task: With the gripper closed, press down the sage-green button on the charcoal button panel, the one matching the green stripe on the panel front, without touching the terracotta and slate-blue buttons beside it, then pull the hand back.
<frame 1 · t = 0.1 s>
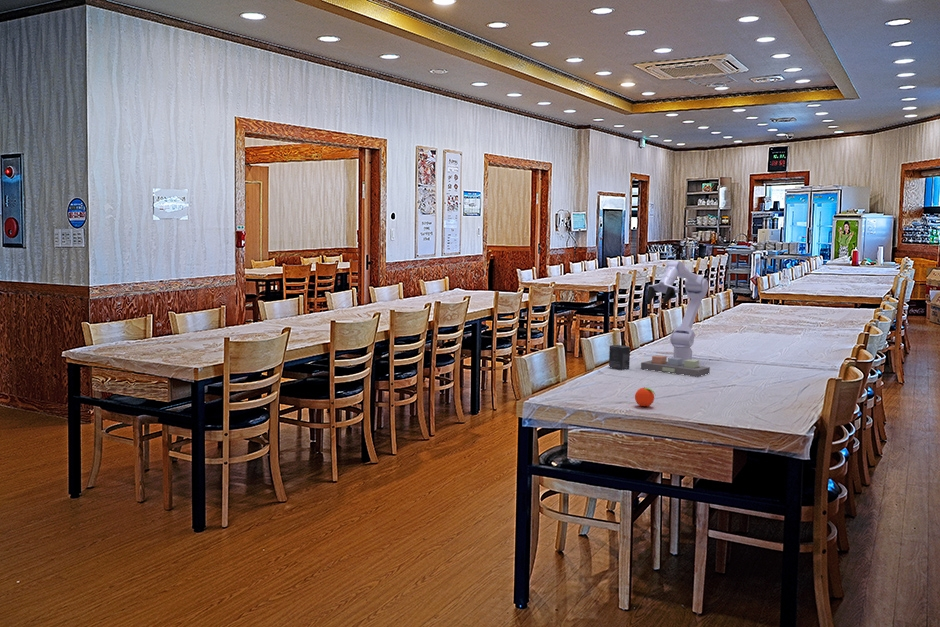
hand: (656, 301, 371), 32 cm above the table, tool tilted 50°, fingers open, 7 cm apart
sage button: (691, 365, 372), point 4 cm above the table, slide at 0.0 cm
box: (618, 368, 383), on the table
button panel: (674, 371, 378), on the table
clementine: (645, 407, 301), on the table
slate button: (675, 362, 377), point 4 cm above the table, slide at 0.0 cm
terracotta button: (659, 360, 382), point 4 cm above the table, slide at 0.0 cm
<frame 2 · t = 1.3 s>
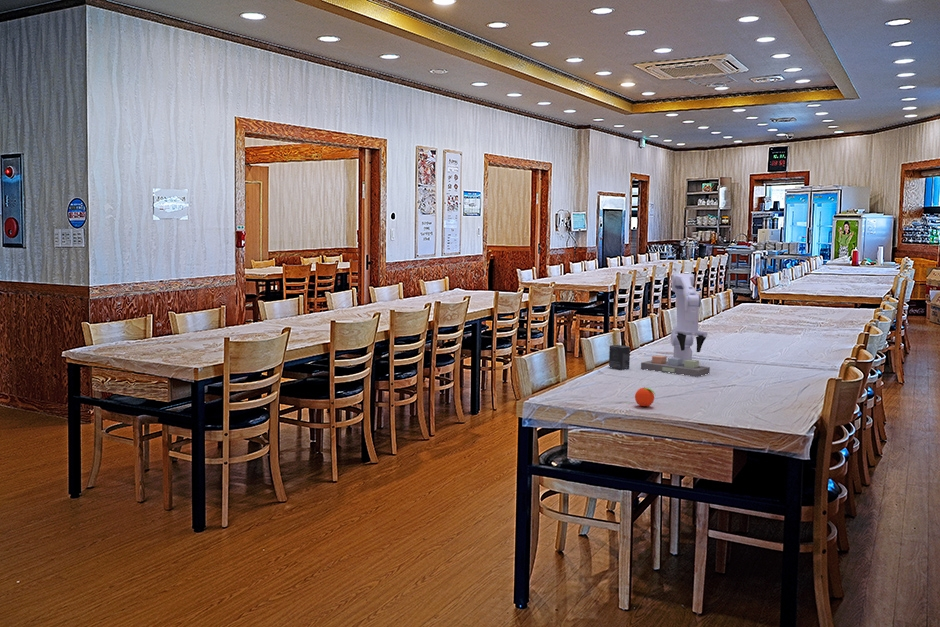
hand: (690, 351, 375), 10 cm above the table, tool pointing down, fingers open, 7 cm apart
nothing on the table moved.
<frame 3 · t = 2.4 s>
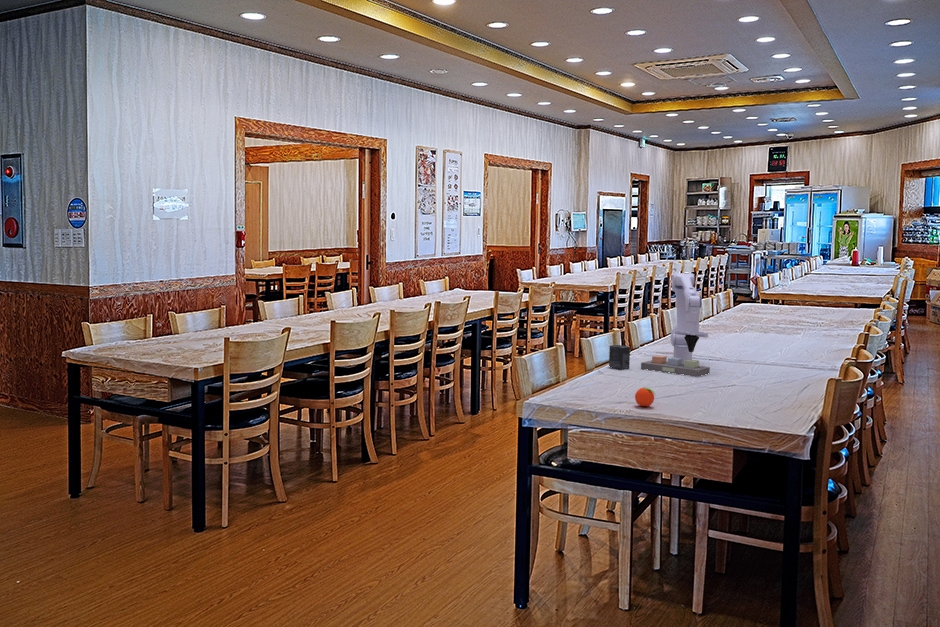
hand: (691, 351, 375), 9 cm above the table, tool pointing down, fingers closed
nothing on the table moved.
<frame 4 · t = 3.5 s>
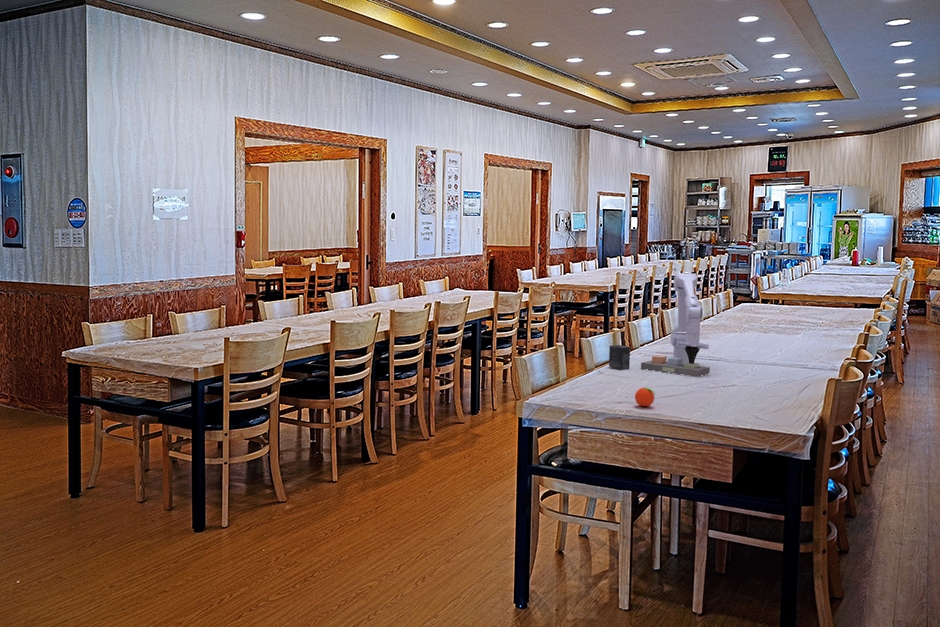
hand: (691, 363, 372), 5 cm above the table, tool pointing down, fingers closed, pressing on sage button
sage button: (691, 367, 372), point 3 cm above the table, slide at 1.3 cm, touching gripper
everything else where it was.
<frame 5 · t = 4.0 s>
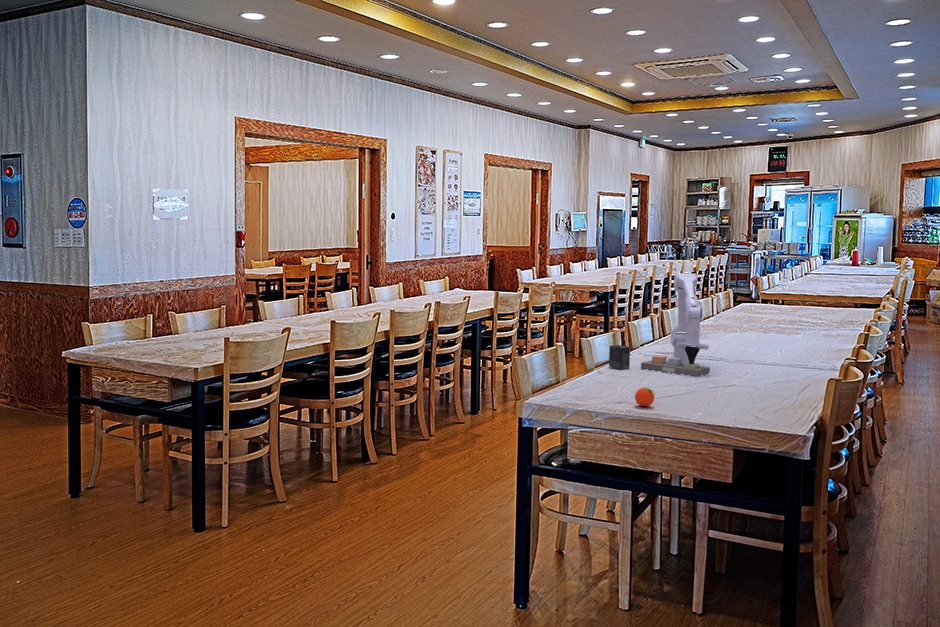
hand: (691, 363, 372), 5 cm above the table, tool pointing down, fingers closed, pressing on sage button
sage button: (691, 368, 372), point 2 cm above the table, slide at 1.4 cm, touching gripper
everything else where it was.
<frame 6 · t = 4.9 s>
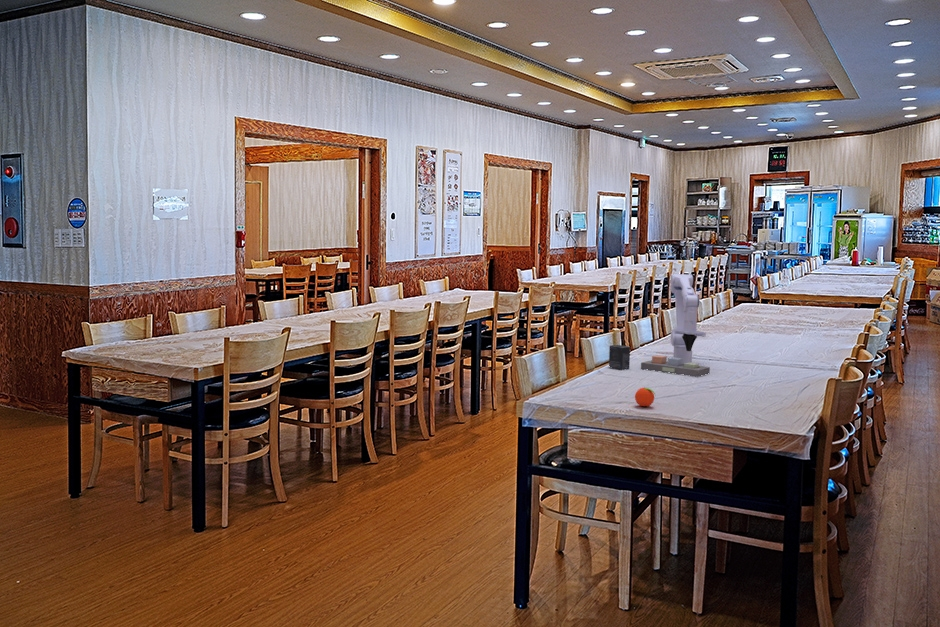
hand: (688, 350, 378), 9 cm above the table, tool pointing down, fingers closed
sage button: (691, 368, 372), point 2 cm above the table, slide at 1.4 cm
everything else where it was.
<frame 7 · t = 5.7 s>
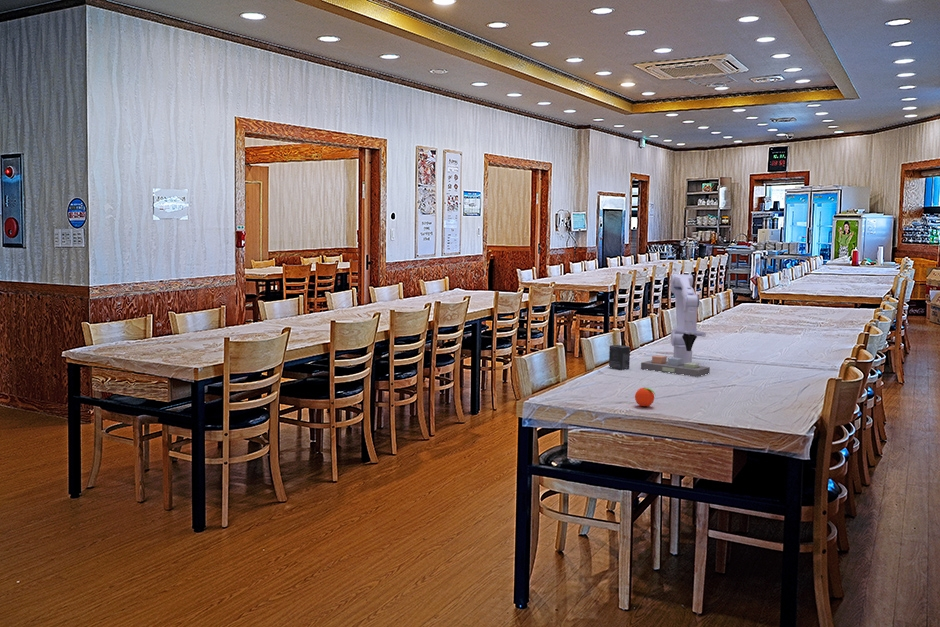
hand: (688, 350, 378), 9 cm above the table, tool pointing down, fingers closed
nothing on the table moved.
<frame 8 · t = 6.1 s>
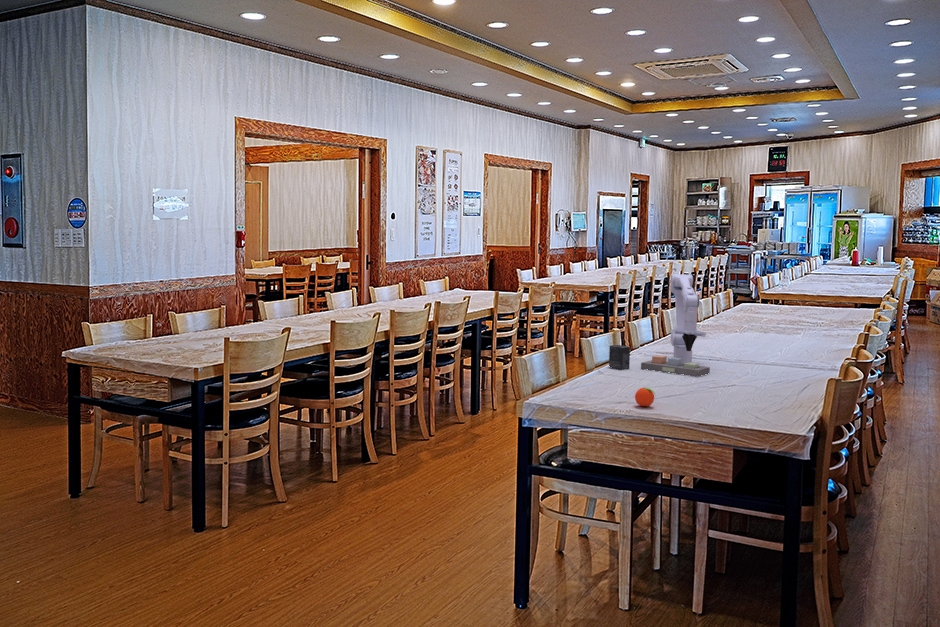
hand: (688, 350, 378), 9 cm above the table, tool pointing down, fingers closed
nothing on the table moved.
at the end: sage button slide at 1.4 cm; slate button slide at 0.0 cm; terracotta button slide at 0.0 cm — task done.
